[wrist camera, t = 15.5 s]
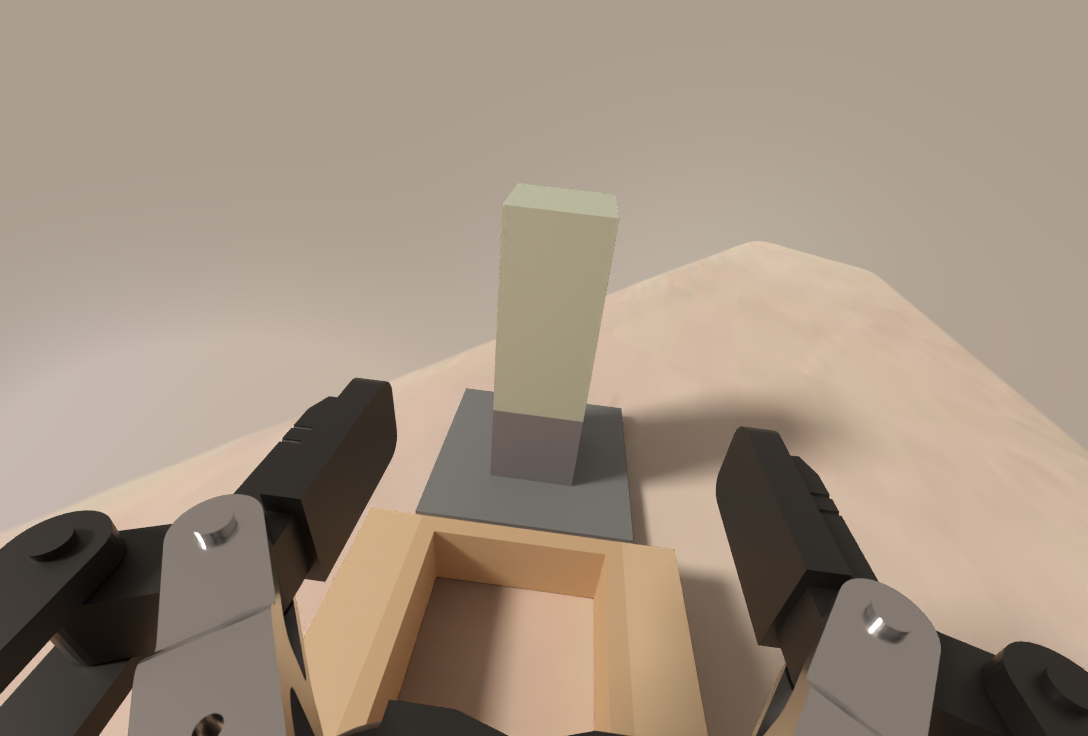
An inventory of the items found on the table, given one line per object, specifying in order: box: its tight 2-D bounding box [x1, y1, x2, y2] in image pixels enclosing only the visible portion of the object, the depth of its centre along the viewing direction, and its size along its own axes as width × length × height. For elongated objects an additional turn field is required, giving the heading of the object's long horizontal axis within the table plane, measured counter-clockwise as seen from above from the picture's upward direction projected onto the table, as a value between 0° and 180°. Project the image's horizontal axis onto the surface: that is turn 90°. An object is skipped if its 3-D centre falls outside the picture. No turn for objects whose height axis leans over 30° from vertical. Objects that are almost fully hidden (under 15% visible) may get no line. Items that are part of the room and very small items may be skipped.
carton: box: [303, 508, 708, 736], centre depth 19 cm, size 15×10×4 cm, turn 85°
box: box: [490, 183, 620, 486], centre depth 26 cm, size 5×5×16 cm
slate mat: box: [416, 388, 633, 544], centre depth 30 cm, size 12×12×1 cm
